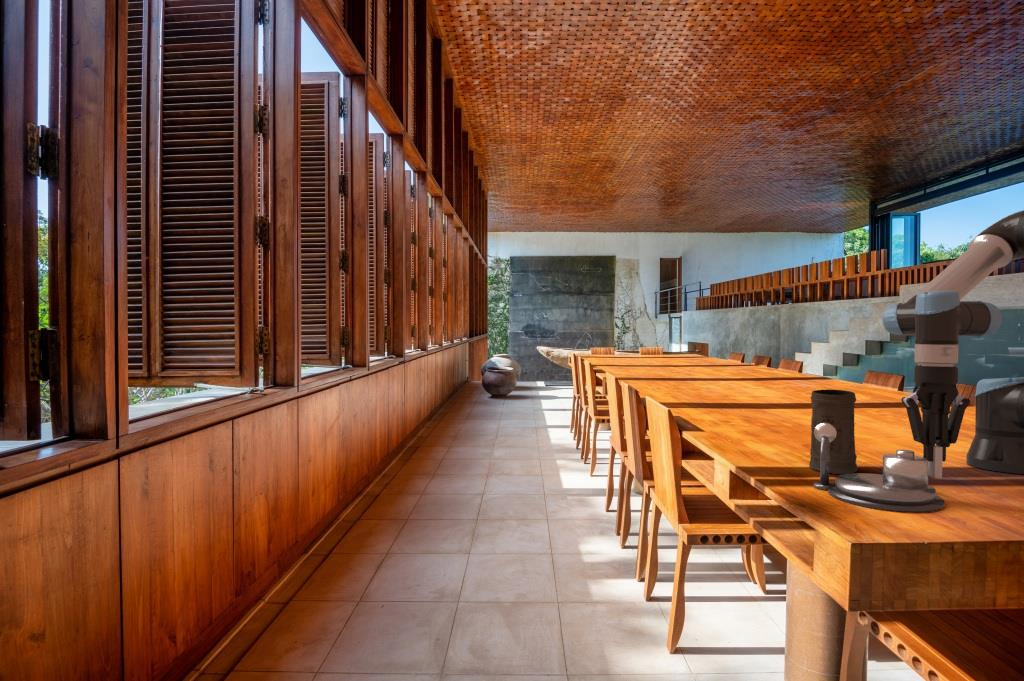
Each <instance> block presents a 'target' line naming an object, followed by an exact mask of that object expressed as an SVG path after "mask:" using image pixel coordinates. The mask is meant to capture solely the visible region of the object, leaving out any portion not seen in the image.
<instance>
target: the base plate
mask: <svg viewBox="0 0 1024 681" xmlns="http://www.w3.org/2000/svg"><path fill="white" fill-rule="evenodd" d="M831 483H832V484H835V482H831ZM832 486H833V485H832ZM827 493H828V494H829V495H830V496H831V497H832V498H835V499H836V500H839V501H841V502H845V503H848V504H850V505H854V506H859V507H864V508H867V509H872V508H873V509H874V510H878V509H879V511H885V510H886V511H887V512H893V511H897V512H896V513H906V512H926V513H932V512H931V511H935V512H937V511H936V510H939V511H941V510H940V509H942V508H943V509H944V508H945V507H944V506H945V503H946V502H945V500H944V498H943V497H941V496H939V495H937V494H936V501H935V502H934V503H932V504H929V505H922V506H900V505H889V504H881V503H875V502H869V501H864V500H860V499H856V498H853V497H849V496H847V495H844V494H842V493H840V492H838V491H837V490H836V488H835V487H830V485H829V487H828V491H827ZM943 509H942V510H943ZM886 511H885V512H886Z"/></svg>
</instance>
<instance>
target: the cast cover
mask: <svg viewBox="0 0 1024 681" xmlns="http://www.w3.org/2000/svg"><path fill="white" fill-rule="evenodd" d="M895 451H896V452H895V453H884V454H883V455H882V475H883V483H885V484H887V485H891V486H895V487H900V488H907V489H925V488H927V487H928V485H929V476H928V459H927V458H924V457H923V456H920V455H915V451H914V450H909V449H904V448H903V449H899V448H898V449H896V450H895Z"/></svg>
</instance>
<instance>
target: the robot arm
mask: <svg viewBox="0 0 1024 681" xmlns="http://www.w3.org/2000/svg"><path fill="white" fill-rule="evenodd" d="M1020 259H1024V209H1023V210H1020V211H1017V212H1013V213H1012V214H1010V215H1007V216H1005V217H1003V218H1001V219H1000V220H998V221H996V222H994V223H992V224H991V225H990V226H988V227H987V228H985V229H983V230H982V231H981V232H979V234H977V235H976V236H975V237H974V238H973V239H972V240H970V242H969V244H968V249H966V250H965V251H964V252H963V253H962V254H960V256H958V257H957V258H956V259H955V260H954V261H953V262H951V263H950V264H949V265H947V267H946V268H944V269H943V270H942V271H941V272H940V273H939V274H938V275H936V276H935V277H934V278H933V279H932V280H931V281H930V282H928V283H927V284H926V285H924V287H923V288H921V289H920V290H919V291H917V292H916V293H915V294H914V295H913V296H912V297H911V298H910V299H908V300H907V301H906V302H904V303H903V302H898V303H892V304H889V305H888V306H887V307H886V308H885V309H884V311H883V314H882V316H881V317H882V318H881V320H882V321H881V323H882V324H883V328H884V330H886V331H887V333H888V334H892V335H897V336H904V337H906V336H907V337H908V336H915V340H914V359H913V361H914V363H917V364H916V365H915V366H914V374H913V375H914V376H913V377H914V378H913V379H914V380H913V381H914V388H913V389H912V394H910V395H908V396H903V397H902V398H901V402H902V404H903V405H904V407H905V409H906V414H907V417H908V422H909V425H910V431H911V435H912V439H913V441H914V442H917V443H920V444H921V445H923V446H922V447H923V451H922V452H923V456H922V457H924V458H927V459H928V477H930V478H933V479H943V462H946V460H947V448H950V447H951V444H956V443H957V441H958V438H959V435H960V434H959V433H960V431H961V426H962V422H963V420H964V415H965V412H966V410H967V408H968V407H969V405H970V403H971V399H970V398H966V397H964V396H962V395H960V393H959V390H958V388H957V387H958V386H957V384H958V382H959V368H958V366H955V365H957V364H958V363H959V337H977V338H981V337H984V336H990V335H993V334H994V333H995V332H997V331H998V330H999V329H1000V326H1001V325H1002V320H1003V317H1002V312H1001V310H1000V309H999V307H997V305H995V304H993V303H992V302H991V303H990V302H989V301H988V302H987V301H982V300H976V301H975V300H968V301H967V300H966V301H965V300H964V301H963V300H962V299H964V297H965V296H967V295H968V294H969V293H970V292H971V291H972V290H973V289H975V288H976V287H977V286H978V285H979V284H980V283H981V282H982V281H984V280H986V278H987V277H988V276H990V274H991V273H993V272H994V271H995V270H996V269H1001V268H1003V267H1006V266H1007V265H1009V264H1010V263H1011V262H1013V261H1015V260H1020ZM961 300H962V301H961ZM974 398H975V420H974V421H975V423H974V424H975V425H974V426H975V427H974V428H975V431H974V432H975V434H974V437H973V439H972V442H971V443H970V446H969V449H968V450H967V451H968V452H967V453H966V460H965V461H966V463H965V464H967V465H969V466H970V467H974V468H977V469H982V470H986V471H987V470H988V471H993V472H1002V473H1007V474H1008V473H1009V474H1010V473H1011V474H1019V475H1021V474H1023V475H1024V377H1023V376H1022V377H1021V376H1020V377H1000V378H983V379H981V380H978V382H977V384H976V389H975V394H974ZM919 404H920V408H919ZM921 413H922V416H921Z"/></svg>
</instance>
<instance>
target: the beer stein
mask: <svg viewBox="0 0 1024 681" xmlns="http://www.w3.org/2000/svg"><path fill="white" fill-rule="evenodd" d="M810 401H811V410H812V411H811V413H812V414H811V418H810V421H811V422H810V430H811V432H810V434H811V436H810V451H809V454H810V460H809V464H808V466H809V468H810V469H812V470H813V471H816V470H817V472H820V447H821V442H820V441H818V440H817V439H816V437H815V435H814V429H815V427H816V426H817V425H819V424H821V423H829V424H831V425H833V426H834V428H835V429H836V432H837V435H836V438H835V439H834V440H833V441H832V442H830V452H829V473H832V474H831V475H843V474H852V473H856V472H857V471H858V464H857V458H858V457H857V456H858V455H857V453H856V438H855V403H856V402H857V398H856V393H855V392H854V391H852V390H846V389H845V390H843V389H831V388H830V389H829V388H828V389H817V390H812V391H811V396H810Z"/></svg>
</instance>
